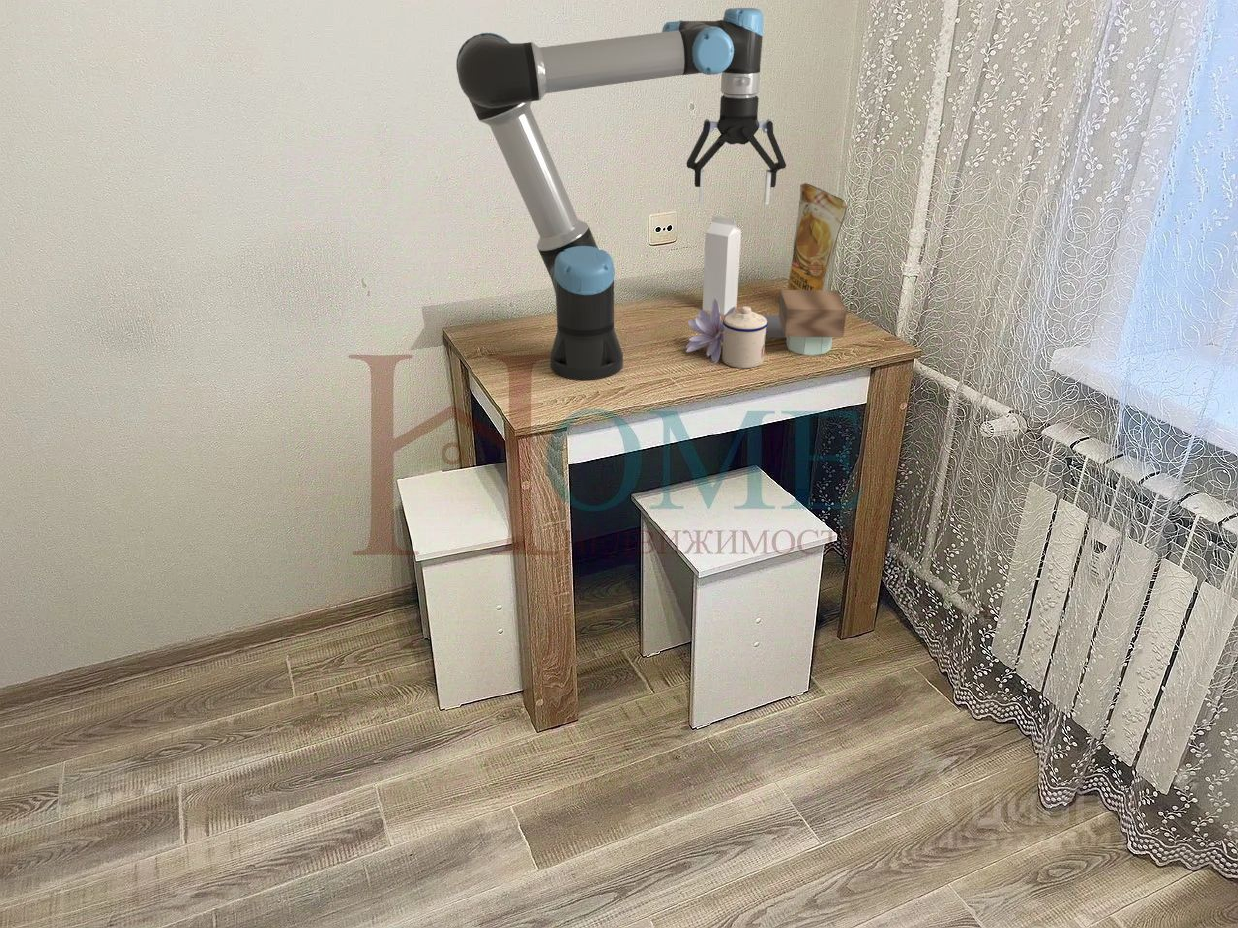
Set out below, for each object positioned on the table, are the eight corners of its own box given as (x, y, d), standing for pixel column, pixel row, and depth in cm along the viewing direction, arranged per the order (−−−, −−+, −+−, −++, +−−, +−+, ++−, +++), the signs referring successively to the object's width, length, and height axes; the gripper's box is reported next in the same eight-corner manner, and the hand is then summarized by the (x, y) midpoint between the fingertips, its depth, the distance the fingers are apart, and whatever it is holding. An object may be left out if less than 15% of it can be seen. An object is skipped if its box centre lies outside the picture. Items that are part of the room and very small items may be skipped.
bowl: (790, 356, 197) (792, 334, 194) (784, 340, 205) (786, 319, 202) (833, 356, 197) (835, 334, 194) (825, 340, 205) (827, 319, 202)
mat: (736, 338, 206) (736, 337, 206) (733, 316, 218) (733, 314, 218) (800, 339, 205) (800, 338, 205) (793, 316, 217) (793, 315, 217)
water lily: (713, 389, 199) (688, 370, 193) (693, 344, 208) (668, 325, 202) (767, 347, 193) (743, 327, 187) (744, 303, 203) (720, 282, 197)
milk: (714, 304, 225) (719, 212, 214) (737, 309, 222) (742, 216, 211) (701, 311, 221) (705, 218, 210) (724, 316, 218) (729, 222, 207)
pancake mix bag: (803, 296, 229) (814, 180, 216) (836, 323, 213) (850, 200, 200) (777, 298, 228) (786, 182, 214) (809, 326, 212) (821, 202, 198)
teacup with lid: (771, 366, 192) (775, 313, 186) (730, 371, 190) (733, 317, 184) (749, 345, 202) (753, 294, 196) (710, 349, 200) (712, 297, 194)
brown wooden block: (785, 336, 193) (787, 309, 190) (778, 316, 204) (780, 289, 201) (843, 337, 193) (846, 309, 190) (833, 316, 203) (836, 290, 200)
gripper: (676, 97, 182) (674, 207, 192) (805, 97, 181) (795, 207, 191) (676, 92, 188) (674, 198, 199) (800, 92, 187) (791, 198, 198)
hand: (733, 203), depth 195 cm, fingers open, 13 cm apart
